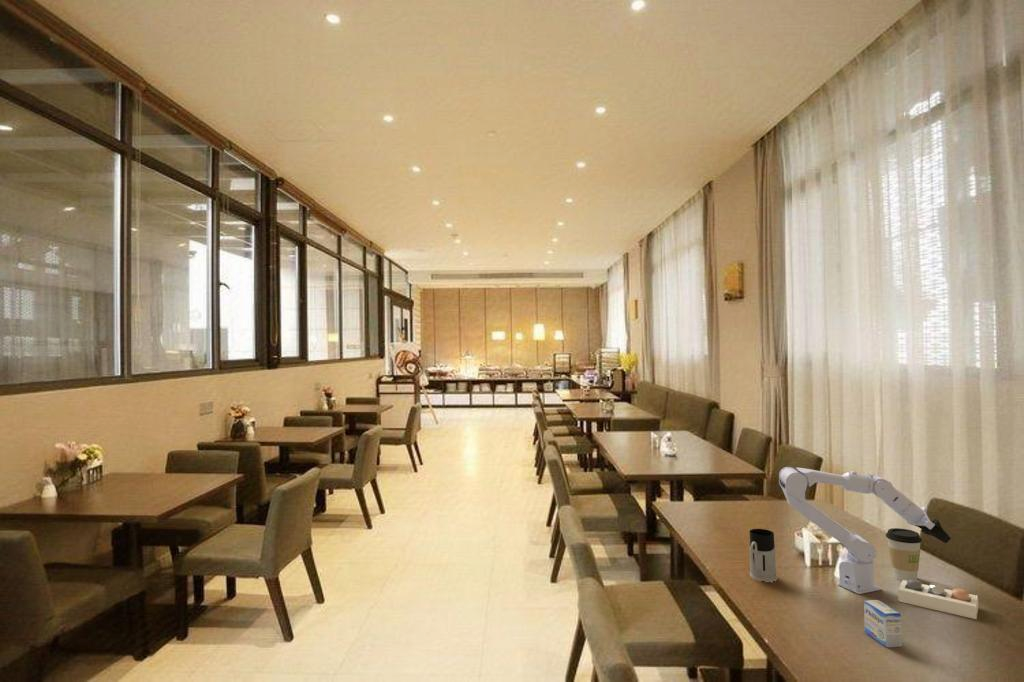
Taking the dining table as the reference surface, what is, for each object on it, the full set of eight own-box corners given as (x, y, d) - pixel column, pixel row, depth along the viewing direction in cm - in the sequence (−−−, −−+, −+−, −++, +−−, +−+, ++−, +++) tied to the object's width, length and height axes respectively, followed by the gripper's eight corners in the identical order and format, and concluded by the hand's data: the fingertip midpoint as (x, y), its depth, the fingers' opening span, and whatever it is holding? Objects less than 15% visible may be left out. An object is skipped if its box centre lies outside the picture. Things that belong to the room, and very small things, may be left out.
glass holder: (781, 576, 188) (779, 531, 188) (766, 590, 178) (764, 542, 178) (754, 570, 194) (753, 526, 194) (738, 583, 184) (737, 537, 184)
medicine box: (864, 632, 150) (863, 600, 150) (879, 631, 151) (878, 599, 151) (886, 648, 142) (885, 613, 142) (902, 647, 143) (901, 612, 143)
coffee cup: (930, 585, 178) (928, 537, 178) (895, 583, 180) (893, 536, 180) (914, 573, 188) (912, 528, 188) (881, 571, 190) (880, 527, 190)
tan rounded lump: (952, 601, 161) (952, 591, 161) (953, 597, 164) (953, 586, 164) (968, 605, 159) (968, 594, 159) (969, 600, 161) (969, 590, 162)
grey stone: (906, 591, 169) (906, 581, 169) (908, 587, 171) (907, 577, 171) (921, 594, 166) (920, 584, 166) (922, 590, 169) (922, 580, 169)
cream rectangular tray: (898, 601, 168) (898, 589, 168) (903, 591, 174) (902, 579, 174) (976, 619, 156) (975, 606, 156) (978, 607, 162) (977, 595, 162)
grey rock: (929, 596, 165) (928, 586, 165) (930, 592, 168) (930, 582, 168) (944, 599, 163) (944, 589, 163) (945, 595, 165) (945, 585, 165)
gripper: (924, 503, 168) (964, 534, 166) (901, 491, 183) (937, 520, 180) (907, 520, 169) (946, 551, 167) (885, 506, 184) (921, 535, 181)
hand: (941, 536), depth 174 cm, fingers open, 7 cm apart
